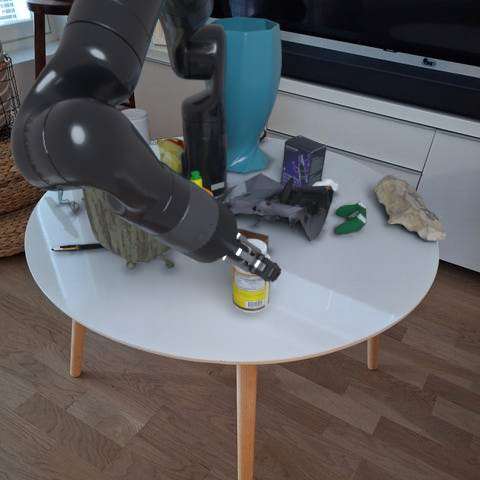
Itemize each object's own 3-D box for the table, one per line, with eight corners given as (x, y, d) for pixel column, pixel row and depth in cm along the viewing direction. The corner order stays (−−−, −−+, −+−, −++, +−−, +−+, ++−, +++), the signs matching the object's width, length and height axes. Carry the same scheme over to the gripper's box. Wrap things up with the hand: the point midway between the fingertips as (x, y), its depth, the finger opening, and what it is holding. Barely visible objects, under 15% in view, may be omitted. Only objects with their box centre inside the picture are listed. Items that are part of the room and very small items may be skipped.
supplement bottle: (248, 286, 73) (249, 230, 66) (276, 301, 70) (281, 245, 63) (224, 303, 70) (224, 247, 63) (253, 320, 67) (255, 263, 60)
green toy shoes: (343, 244, 95) (369, 228, 91) (332, 231, 93) (358, 215, 90) (345, 221, 101) (369, 206, 98) (334, 208, 100) (358, 192, 96)
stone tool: (457, 247, 93) (409, 191, 106) (468, 224, 89) (416, 169, 101) (402, 257, 91) (359, 199, 104) (410, 234, 87) (365, 177, 99)
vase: (282, 151, 124) (291, 19, 103) (264, 179, 111) (271, 36, 91) (221, 143, 127) (218, 14, 107) (198, 169, 115) (190, 29, 95)
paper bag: (252, 196, 106) (255, 157, 100) (332, 223, 99) (341, 184, 93) (207, 230, 95) (208, 189, 88) (294, 264, 87) (301, 222, 81)
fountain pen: (127, 239, 90) (127, 243, 89) (127, 244, 91) (128, 248, 90) (50, 245, 88) (49, 249, 87) (51, 250, 89) (50, 254, 88)
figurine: (306, 202, 104) (309, 183, 101) (332, 192, 107) (335, 173, 104) (314, 206, 102) (316, 187, 99) (340, 196, 106) (343, 177, 102)
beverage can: (133, 170, 114) (123, 107, 104) (158, 173, 113) (151, 109, 103) (123, 182, 110) (112, 117, 99) (149, 185, 109) (141, 120, 98)
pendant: (80, 203, 103) (81, 215, 103) (59, 203, 102) (60, 215, 102) (74, 198, 95) (75, 211, 95) (51, 198, 94) (52, 211, 95)
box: (280, 185, 109) (283, 140, 102) (295, 178, 112) (299, 133, 105) (305, 197, 105) (311, 151, 98) (321, 189, 108) (327, 143, 101)
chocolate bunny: (140, 155, 113) (179, 142, 123) (173, 183, 112) (209, 168, 122) (148, 131, 108) (187, 119, 118) (182, 160, 107) (219, 146, 117)
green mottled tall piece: (184, 268, 85) (171, 130, 68) (147, 291, 80) (123, 149, 63) (132, 239, 92) (109, 107, 75) (95, 259, 87) (61, 123, 70)
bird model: (278, 242, 104) (249, 219, 98) (319, 202, 100) (291, 175, 94) (286, 255, 100) (257, 232, 94) (329, 214, 96) (301, 187, 90)
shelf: (205, 257, 88) (204, 241, 85) (221, 239, 92) (221, 223, 90) (253, 271, 85) (254, 255, 82) (268, 251, 89) (268, 235, 87)
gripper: (249, 217, 48) (312, 265, 62) (170, 170, 56) (242, 222, 70) (212, 277, 49) (282, 311, 63) (139, 223, 57) (215, 264, 71)
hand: (260, 264), depth 67 cm, fingers closed on supplement bottle, 5 cm apart
